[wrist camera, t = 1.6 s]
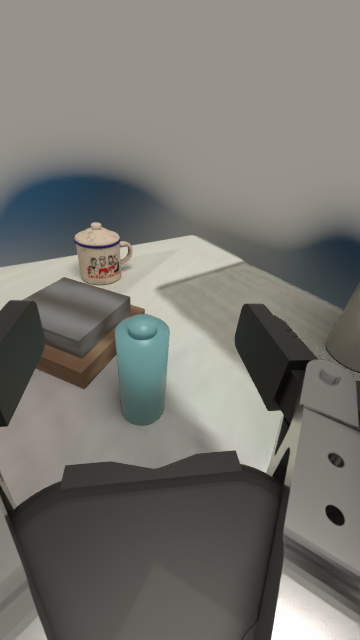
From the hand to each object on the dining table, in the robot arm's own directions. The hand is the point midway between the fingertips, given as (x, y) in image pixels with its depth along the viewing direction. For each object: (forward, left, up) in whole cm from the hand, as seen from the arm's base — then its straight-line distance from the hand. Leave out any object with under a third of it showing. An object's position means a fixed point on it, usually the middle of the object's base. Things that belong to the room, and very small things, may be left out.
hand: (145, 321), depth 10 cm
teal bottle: (-10, -6, -21) cm, 24 cm away
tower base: (-17, -22, -21) cm, 35 cm away
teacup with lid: (-37, -30, -22) cm, 52 cm away
